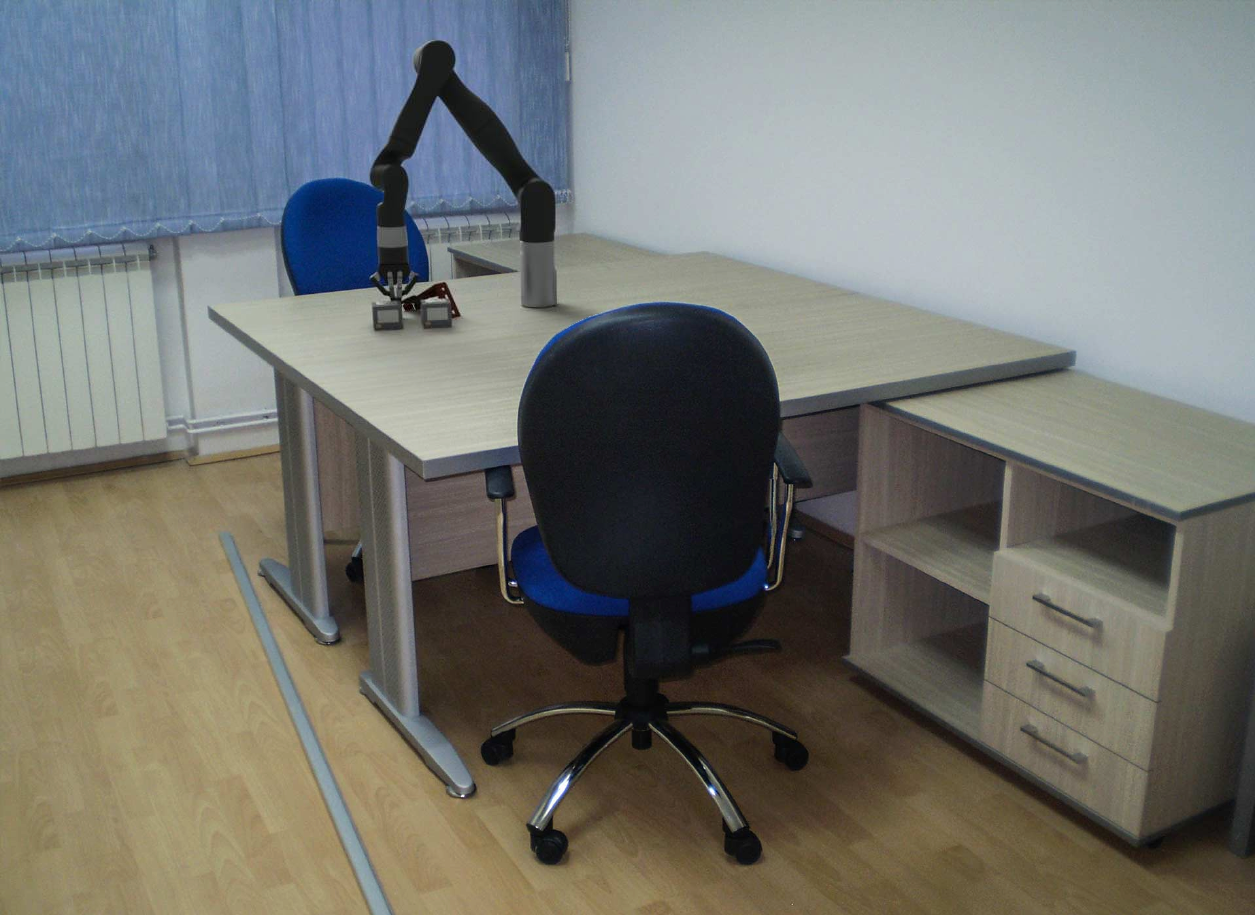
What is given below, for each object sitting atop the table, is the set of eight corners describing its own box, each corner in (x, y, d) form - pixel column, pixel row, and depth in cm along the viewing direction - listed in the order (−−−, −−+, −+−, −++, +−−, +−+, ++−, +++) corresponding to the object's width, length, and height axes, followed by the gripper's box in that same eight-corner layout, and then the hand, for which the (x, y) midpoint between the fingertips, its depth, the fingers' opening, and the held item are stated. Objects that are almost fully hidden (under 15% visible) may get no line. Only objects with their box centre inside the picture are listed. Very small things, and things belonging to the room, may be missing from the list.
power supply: (401, 324, 319) (400, 300, 317) (403, 329, 313) (401, 304, 311) (373, 325, 317) (371, 301, 315) (374, 331, 311) (372, 306, 309)
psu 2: (449, 321, 321) (448, 297, 319) (452, 327, 315) (451, 302, 314) (421, 323, 320) (420, 299, 318) (423, 328, 314) (422, 303, 312)
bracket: (433, 323, 320) (417, 287, 320) (399, 344, 329) (383, 309, 329) (461, 316, 328) (446, 280, 328) (427, 337, 337) (412, 302, 337)
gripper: (417, 240, 326) (421, 307, 331) (365, 242, 323) (369, 309, 328) (420, 245, 319) (423, 313, 324) (366, 247, 316) (371, 315, 321)
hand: (396, 311), depth 326 cm, fingers closed
